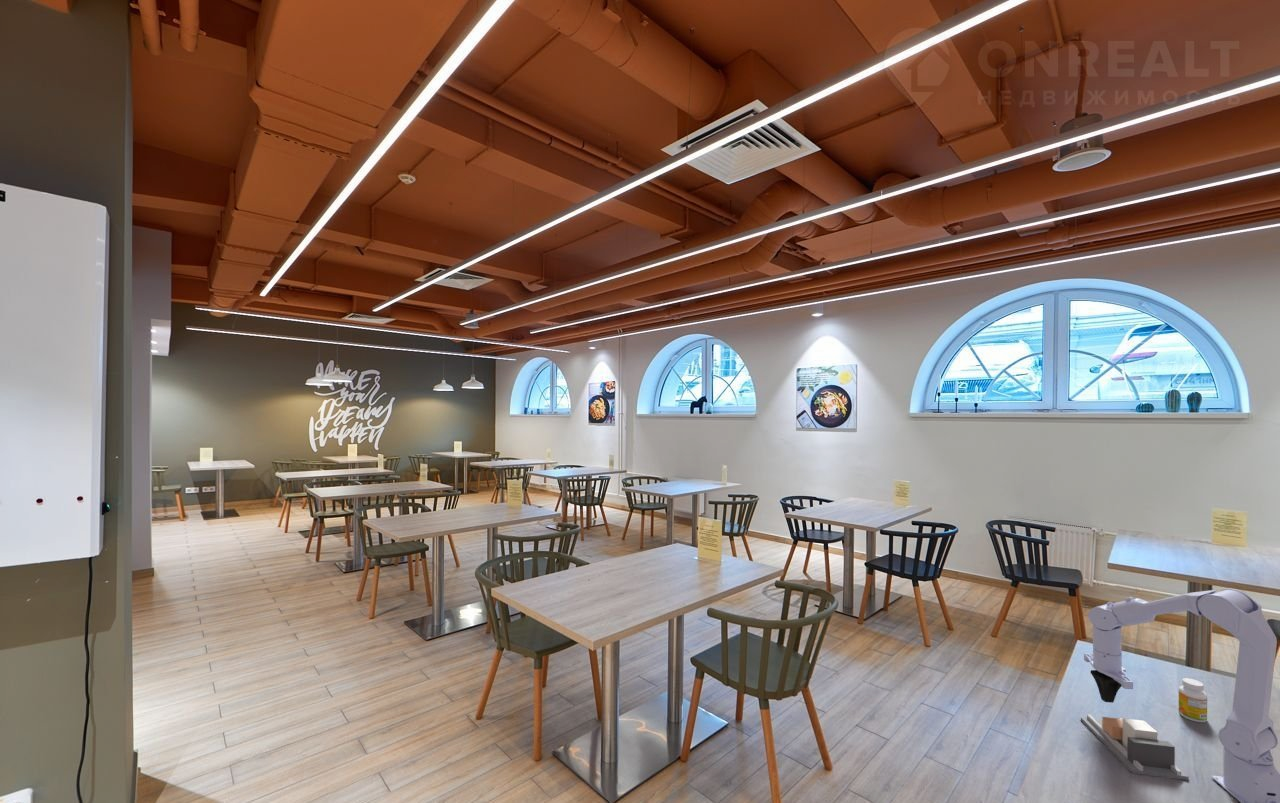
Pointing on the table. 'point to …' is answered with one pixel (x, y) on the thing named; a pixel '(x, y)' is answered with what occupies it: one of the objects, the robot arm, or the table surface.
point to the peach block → (1113, 727)
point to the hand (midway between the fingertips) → (1107, 700)
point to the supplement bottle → (1193, 700)
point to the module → (1137, 730)
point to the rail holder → (1140, 752)
